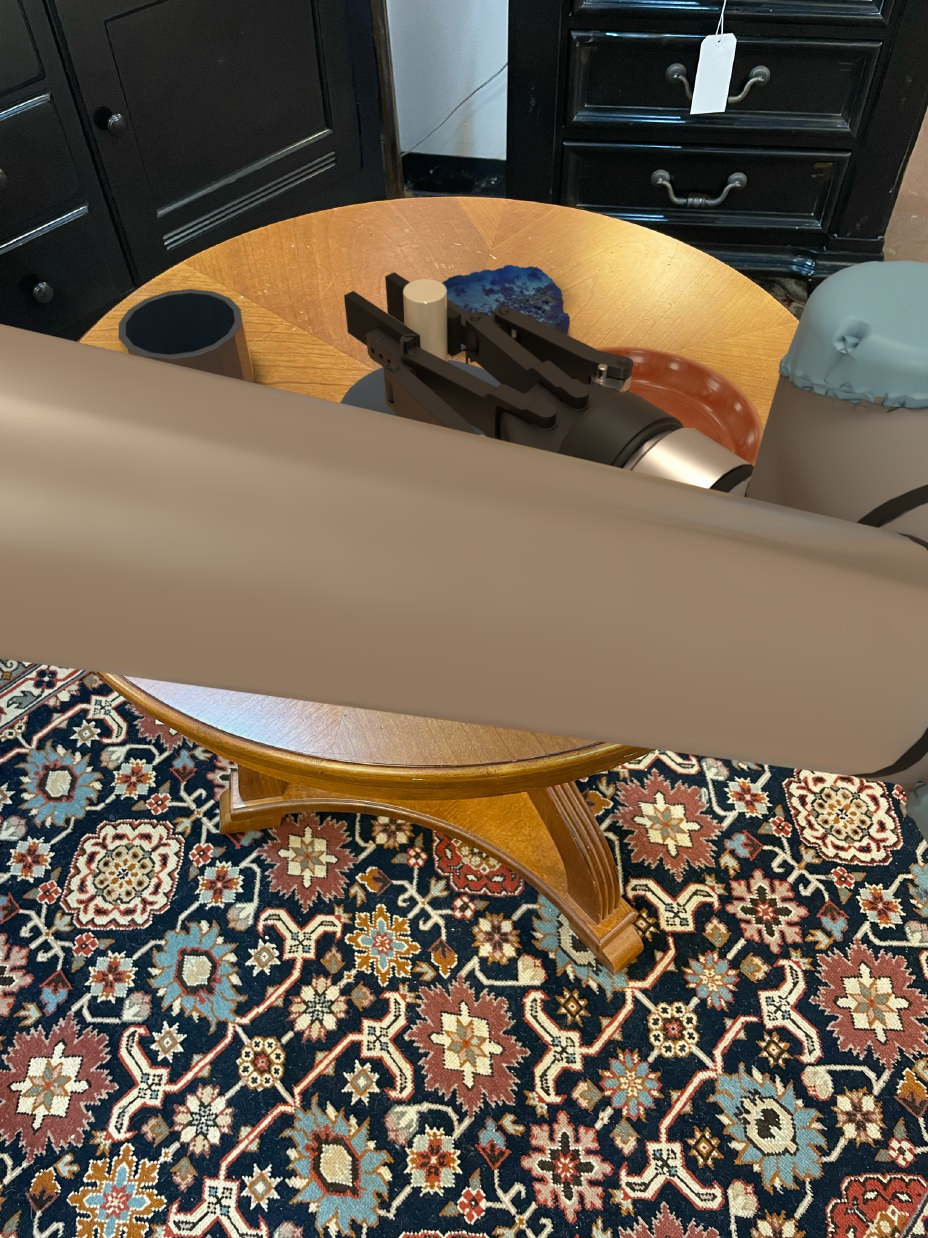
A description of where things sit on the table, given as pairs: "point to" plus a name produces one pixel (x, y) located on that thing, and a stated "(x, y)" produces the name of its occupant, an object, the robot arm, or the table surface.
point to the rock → (510, 294)
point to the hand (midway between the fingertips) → (371, 302)
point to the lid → (430, 322)
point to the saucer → (696, 398)
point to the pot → (189, 332)
